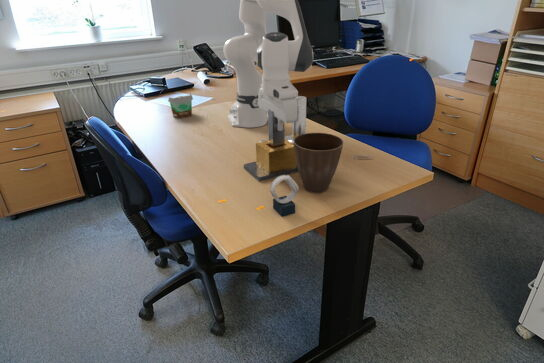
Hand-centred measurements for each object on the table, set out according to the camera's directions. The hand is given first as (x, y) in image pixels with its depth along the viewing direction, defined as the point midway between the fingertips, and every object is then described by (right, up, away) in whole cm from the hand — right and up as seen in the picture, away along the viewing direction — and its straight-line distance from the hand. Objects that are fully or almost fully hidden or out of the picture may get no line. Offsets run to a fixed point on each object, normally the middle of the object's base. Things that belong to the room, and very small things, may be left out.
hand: (276, 128), depth 132 cm
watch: (+2, -27, -18) cm, 32 cm away
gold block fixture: (+1, -12, +10) cm, 15 cm away
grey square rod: (0, -5, +3) cm, 6 cm away
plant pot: (+13, -20, -6) cm, 25 cm away
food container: (-45, +14, +61) cm, 77 cm away
